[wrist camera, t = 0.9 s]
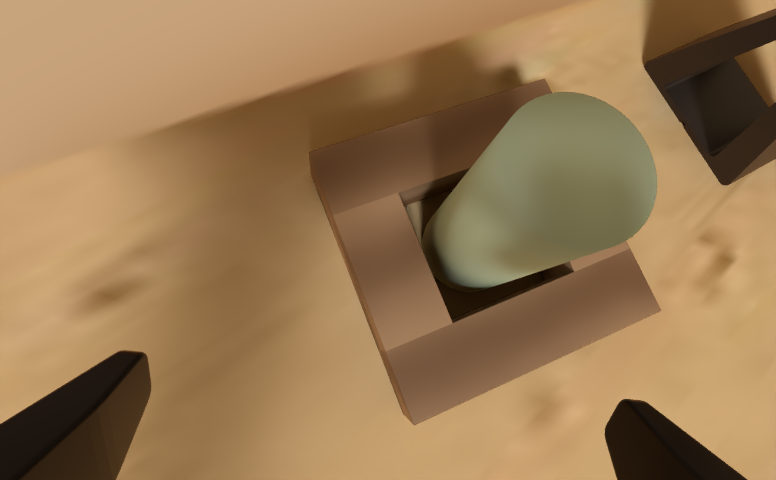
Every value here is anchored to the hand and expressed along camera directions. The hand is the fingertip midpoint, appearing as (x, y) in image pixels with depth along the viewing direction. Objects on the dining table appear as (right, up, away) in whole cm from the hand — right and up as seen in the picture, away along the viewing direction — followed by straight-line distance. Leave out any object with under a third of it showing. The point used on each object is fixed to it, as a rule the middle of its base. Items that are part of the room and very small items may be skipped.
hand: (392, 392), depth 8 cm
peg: (+4, +3, +15) cm, 16 cm away
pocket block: (+4, +3, +15) cm, 16 cm away
